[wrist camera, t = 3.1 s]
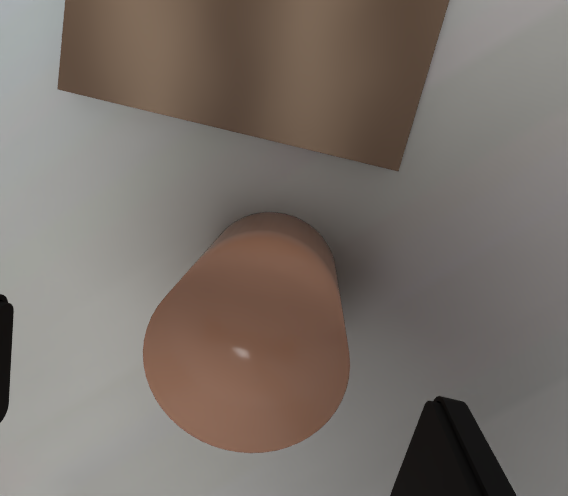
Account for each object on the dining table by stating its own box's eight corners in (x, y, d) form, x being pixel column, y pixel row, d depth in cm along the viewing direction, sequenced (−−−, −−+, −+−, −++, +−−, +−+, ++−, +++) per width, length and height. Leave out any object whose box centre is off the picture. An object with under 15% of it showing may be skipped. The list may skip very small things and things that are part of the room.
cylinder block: (351, 229, 20) (375, 294, 12) (318, 348, 21) (320, 472, 14) (220, 198, 20) (159, 242, 12) (196, 319, 21) (129, 426, 14)
